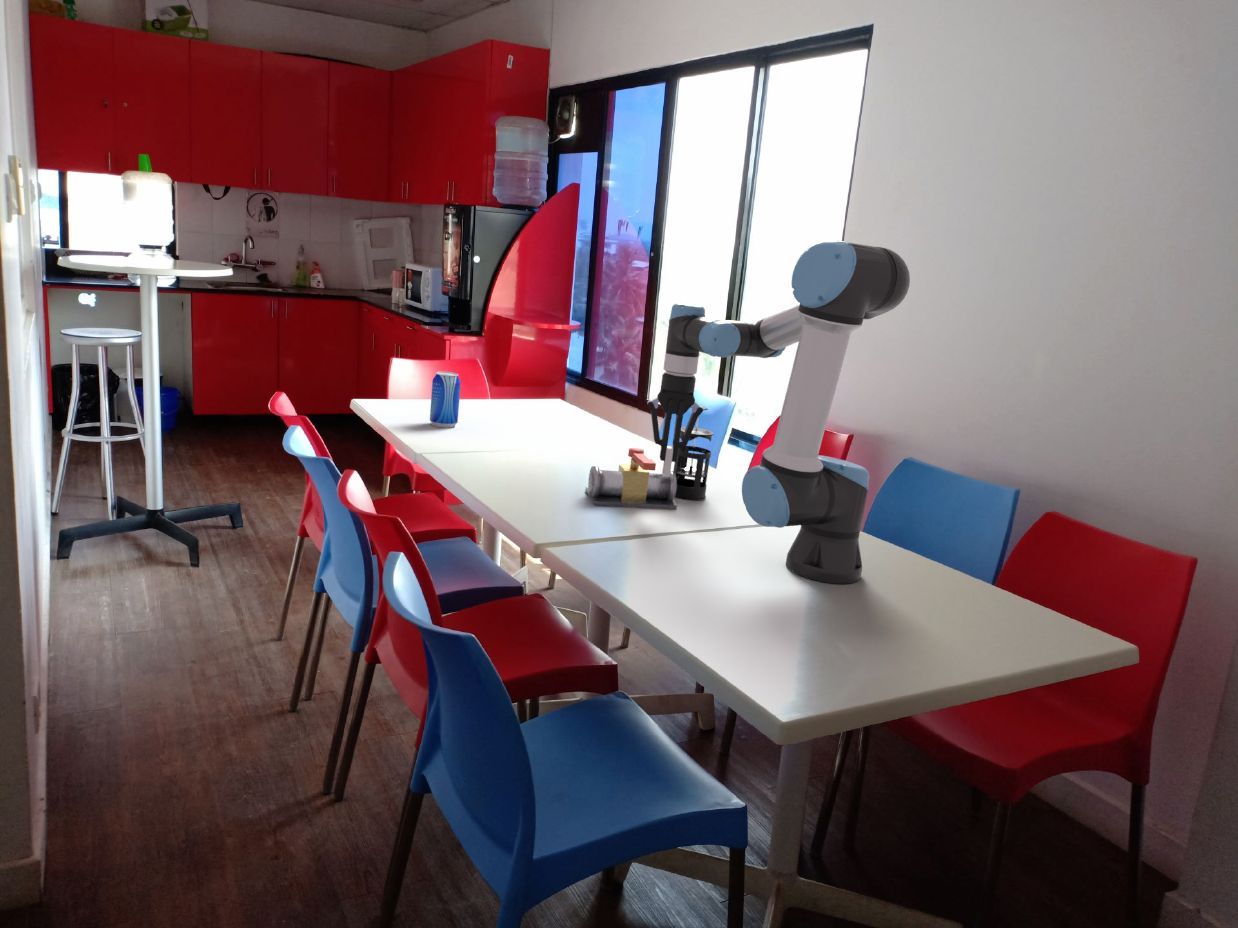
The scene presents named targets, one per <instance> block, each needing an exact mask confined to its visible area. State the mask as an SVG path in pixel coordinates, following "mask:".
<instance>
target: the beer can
mask: <svg viewBox="0 0 1238 928" xmlns="http://www.w3.org/2000/svg"><path fill="white" fill-rule="evenodd" d="M461 382H462V381H461V380H460V377H459V374H458V373H455V372H451V371H437V372H435V375H434V377H433V379H432V382H431V383H432V385H431V397H430V398H431V399H430V409H429V410H430V411H429V412H430V413H429V421H430V422H431V425H432V426H433V427H436V428H444V429H449V428H451V429H452V428H454V427H456V425H457V424H458V423H459V422H458V420H459V412H460V411H459V410H460V409H459V408H460V400H461V399H460V395H461V386H462V384H461Z"/></svg>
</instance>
